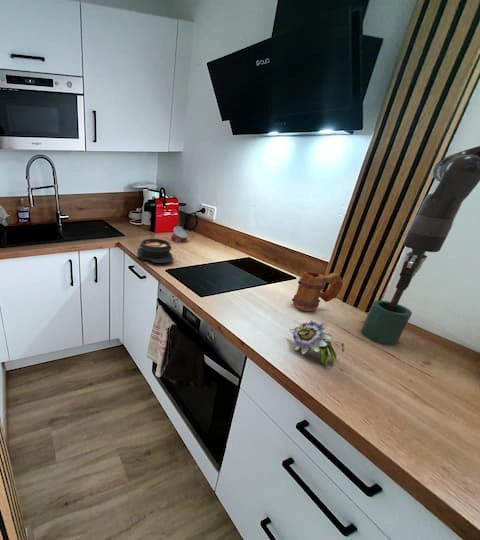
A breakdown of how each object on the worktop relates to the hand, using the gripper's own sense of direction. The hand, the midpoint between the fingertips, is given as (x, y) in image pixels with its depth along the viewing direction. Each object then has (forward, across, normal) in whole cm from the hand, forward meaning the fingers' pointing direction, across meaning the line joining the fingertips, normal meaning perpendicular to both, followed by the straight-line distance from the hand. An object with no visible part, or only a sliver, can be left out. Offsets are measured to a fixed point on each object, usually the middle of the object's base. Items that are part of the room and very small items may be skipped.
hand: (401, 287), depth 86 cm
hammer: (+13, 0, 0) cm, 13 cm away
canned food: (+18, +24, +108) cm, 112 cm away
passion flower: (+18, -27, +10) cm, 34 cm away
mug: (+18, +1, +20) cm, 27 cm away
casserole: (+18, -11, +93) cm, 96 cm away
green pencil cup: (+18, 0, 0) cm, 18 cm away
